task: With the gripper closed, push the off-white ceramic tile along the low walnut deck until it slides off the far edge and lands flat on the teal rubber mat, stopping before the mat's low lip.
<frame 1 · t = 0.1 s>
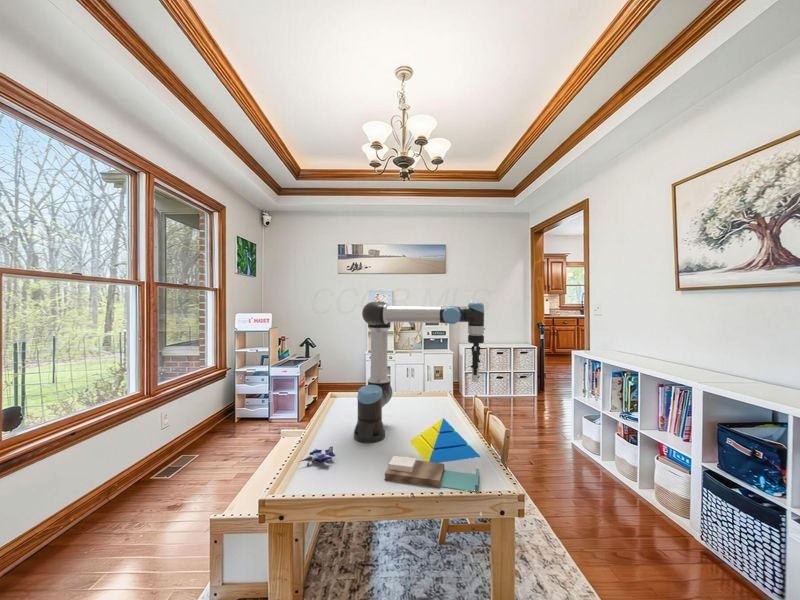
hand: (475, 378, 166), 28 cm above the table, fingers open, 13 cm apart
toy airplane: (317, 463, 138), on the table
pyramid toy: (443, 450, 152), on the table
deck: (415, 474, 129), on the table
mat: (460, 481, 125), on the table
tile: (402, 466, 130), point 2 cm above the table, touching deck
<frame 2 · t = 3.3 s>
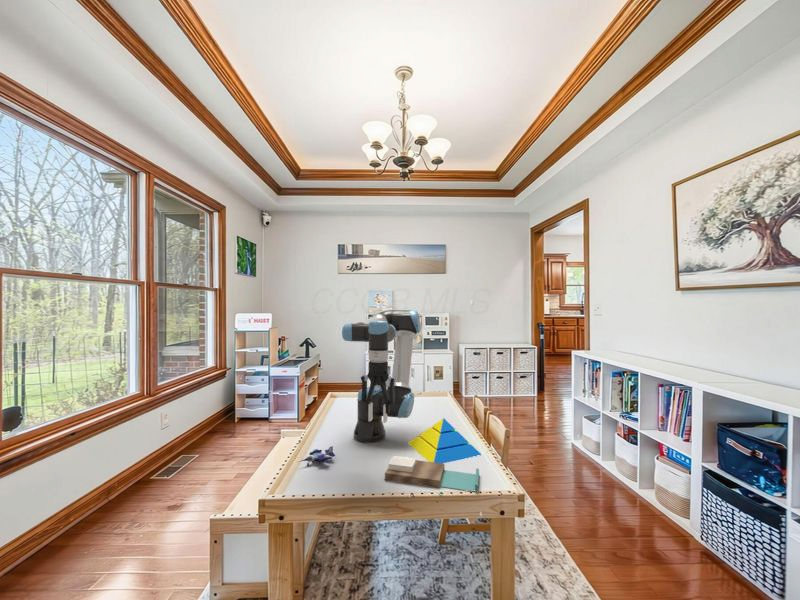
hand: (377, 420, 133), 19 cm above the table, fingers open, 5 cm apart
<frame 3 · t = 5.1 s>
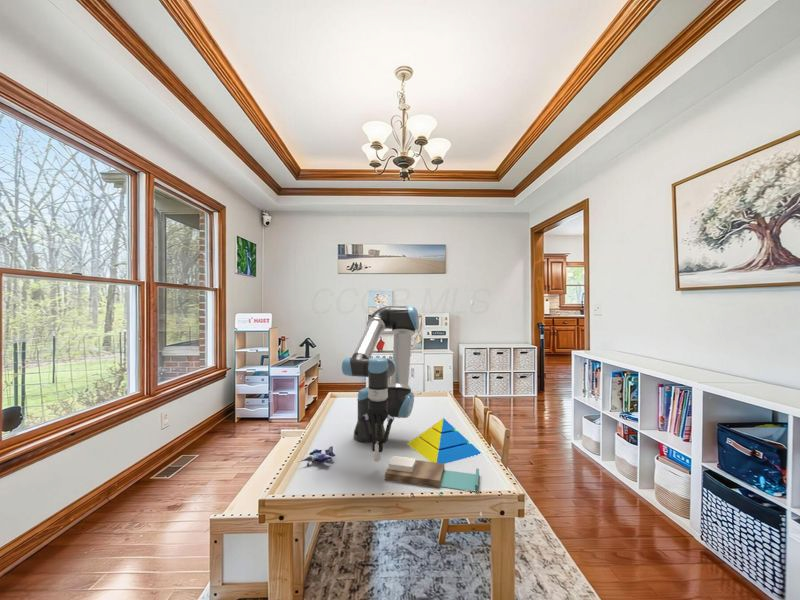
hand: (377, 459, 133), 4 cm above the table, fingers closed
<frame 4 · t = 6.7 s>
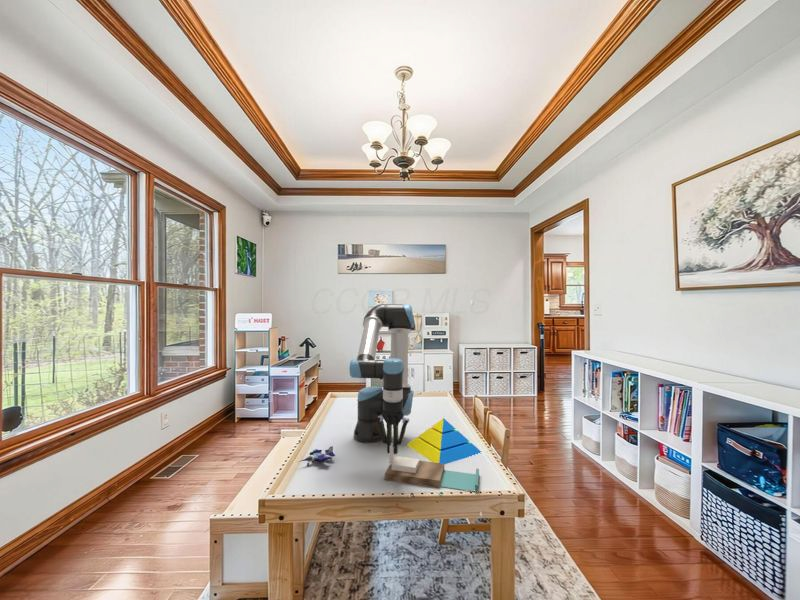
hand: (392, 461, 131), 4 cm above the table, fingers closed
tile: (405, 467, 130), point 2 cm above the table, touching deck
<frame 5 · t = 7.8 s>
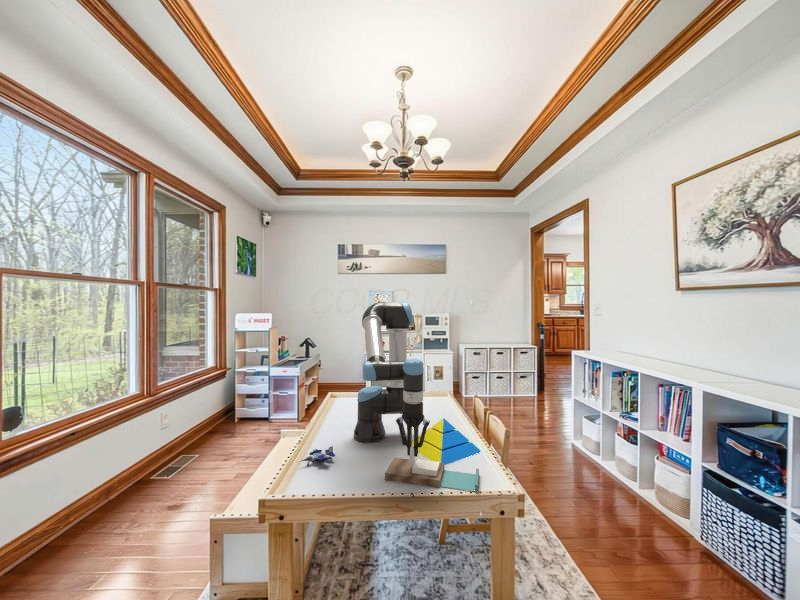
hand: (412, 464, 129), 4 cm above the table, fingers closed
tile: (426, 470, 128), point 3 cm above the table
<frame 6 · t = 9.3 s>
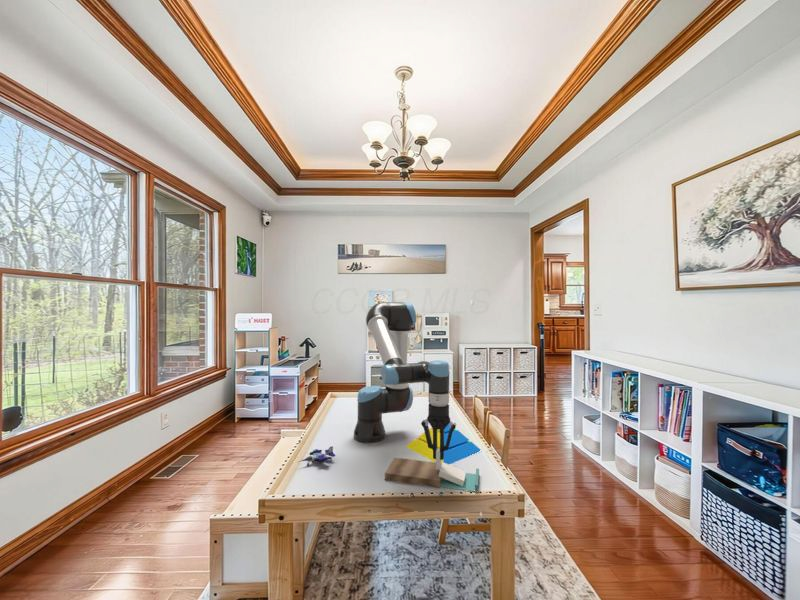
hand: (438, 467, 127), 4 cm above the table, fingers closed
tile: (451, 476, 125), point 2 cm above the table, tilted 16°
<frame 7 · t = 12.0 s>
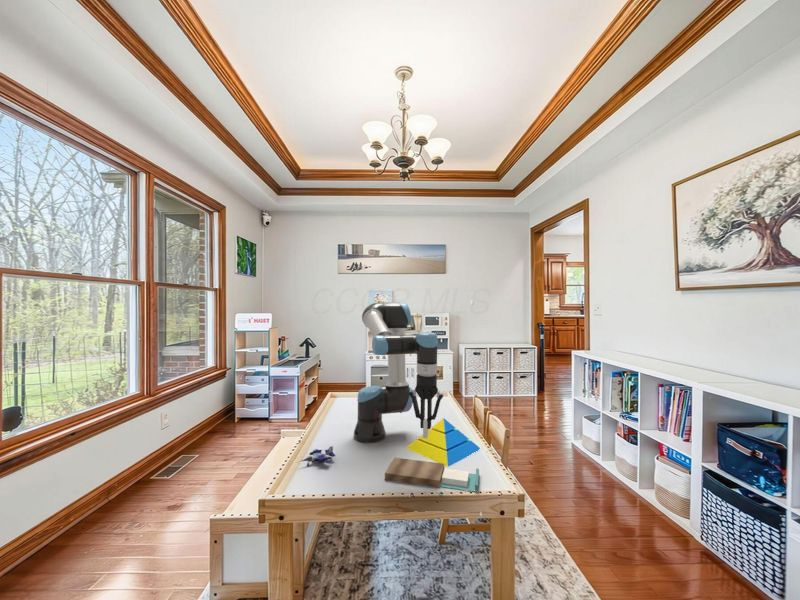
hand: (425, 436, 129), 14 cm above the table, fingers closed
tile: (455, 480, 125), resting on mat
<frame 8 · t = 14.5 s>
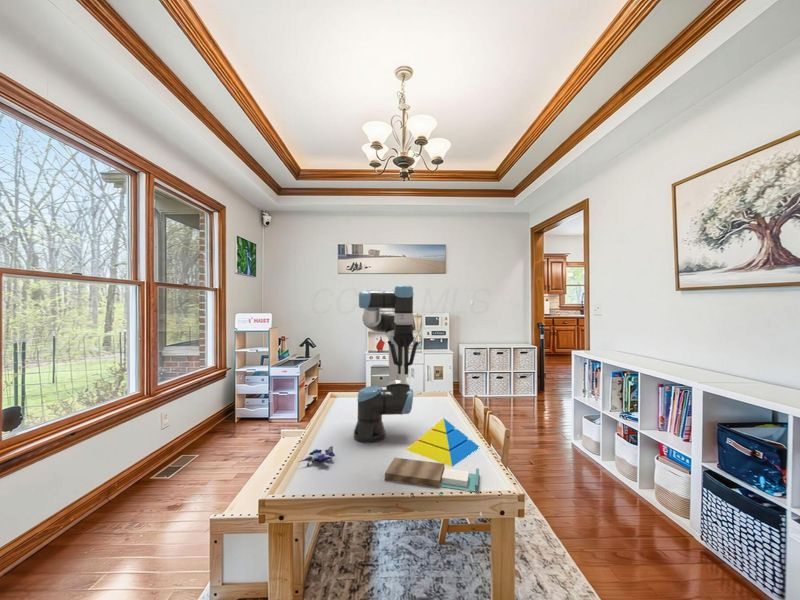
hand: (403, 382, 139), 32 cm above the table, fingers closed
at the end: tile resting on mat; tile inside the target area on the mat (1.6 cm from its centre), point 0.3 cm above the mat's base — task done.
